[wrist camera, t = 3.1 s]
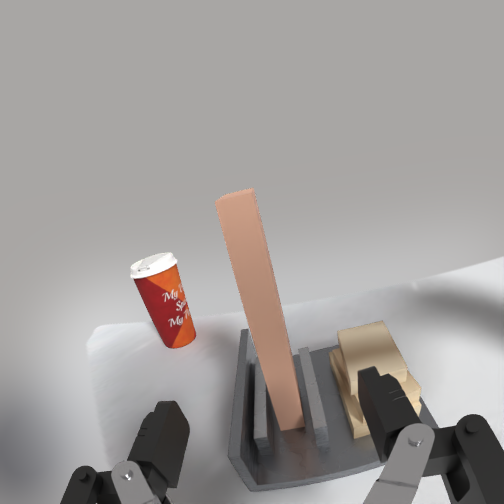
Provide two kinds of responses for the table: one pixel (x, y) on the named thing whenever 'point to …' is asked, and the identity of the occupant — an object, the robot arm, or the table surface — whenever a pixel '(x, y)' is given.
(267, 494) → the table surface
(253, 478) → the rack
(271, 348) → the pink rectangular bar
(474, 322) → the table surface
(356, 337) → the offcut stack
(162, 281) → the paper cup
